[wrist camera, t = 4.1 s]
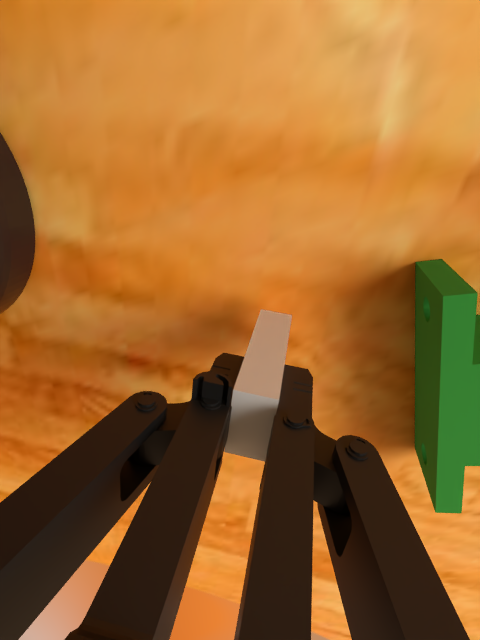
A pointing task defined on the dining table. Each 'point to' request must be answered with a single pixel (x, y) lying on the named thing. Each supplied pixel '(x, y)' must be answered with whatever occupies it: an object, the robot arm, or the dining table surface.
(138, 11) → the dining table surface
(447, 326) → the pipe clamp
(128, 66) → the dining table surface
